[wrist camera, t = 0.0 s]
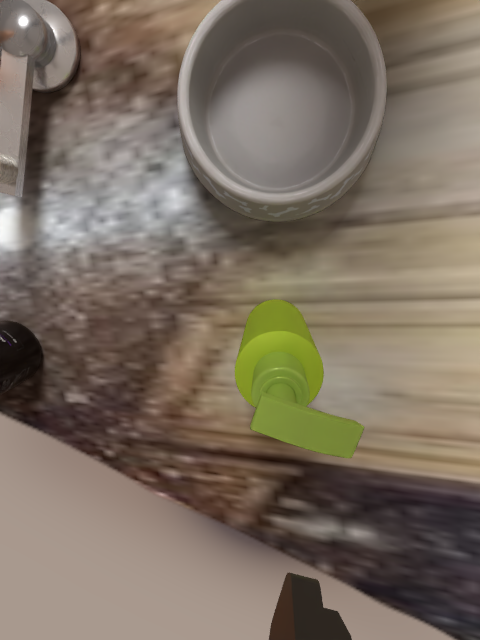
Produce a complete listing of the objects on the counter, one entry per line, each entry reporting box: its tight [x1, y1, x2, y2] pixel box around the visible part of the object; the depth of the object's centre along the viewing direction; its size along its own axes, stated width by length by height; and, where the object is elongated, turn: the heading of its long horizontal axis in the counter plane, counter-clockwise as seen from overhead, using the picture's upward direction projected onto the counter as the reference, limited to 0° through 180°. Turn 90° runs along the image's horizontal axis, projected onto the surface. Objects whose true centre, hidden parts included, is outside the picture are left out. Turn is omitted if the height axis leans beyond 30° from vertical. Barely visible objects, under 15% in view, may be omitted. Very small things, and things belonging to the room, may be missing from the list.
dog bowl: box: [177, 0, 387, 222], centre depth 32 cm, size 17×18×5 cm
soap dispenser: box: [235, 300, 364, 458], centre depth 28 cm, size 6×7×20 cm
